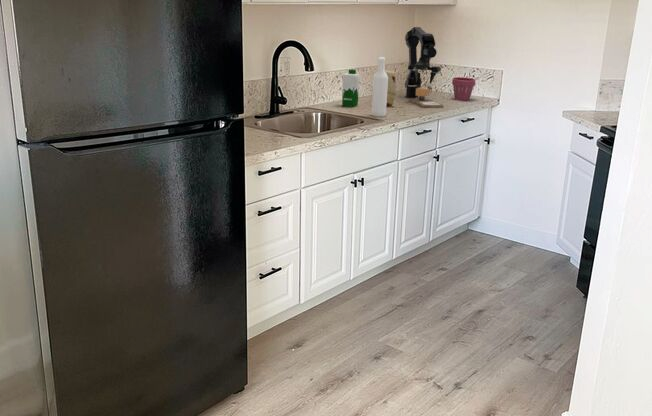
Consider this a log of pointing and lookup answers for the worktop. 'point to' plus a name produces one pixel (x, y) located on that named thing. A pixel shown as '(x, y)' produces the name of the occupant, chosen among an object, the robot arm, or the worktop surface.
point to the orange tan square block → (422, 91)
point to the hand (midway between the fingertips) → (423, 82)
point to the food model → (391, 87)
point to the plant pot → (463, 88)
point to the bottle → (379, 90)
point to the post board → (425, 102)
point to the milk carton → (350, 89)
